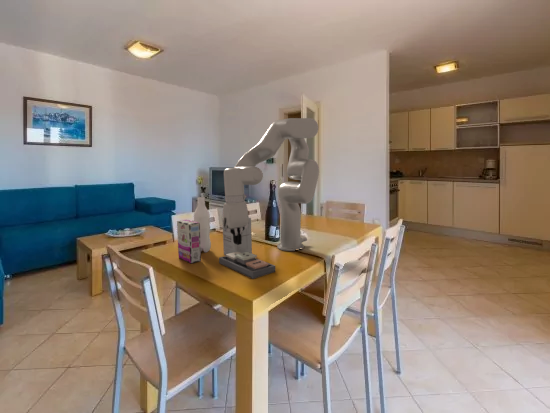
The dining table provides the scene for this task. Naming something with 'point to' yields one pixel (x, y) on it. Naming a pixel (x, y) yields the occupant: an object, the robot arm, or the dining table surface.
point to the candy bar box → (189, 241)
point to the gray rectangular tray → (243, 268)
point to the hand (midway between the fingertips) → (237, 243)
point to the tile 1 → (232, 257)
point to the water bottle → (203, 224)
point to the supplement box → (246, 241)
